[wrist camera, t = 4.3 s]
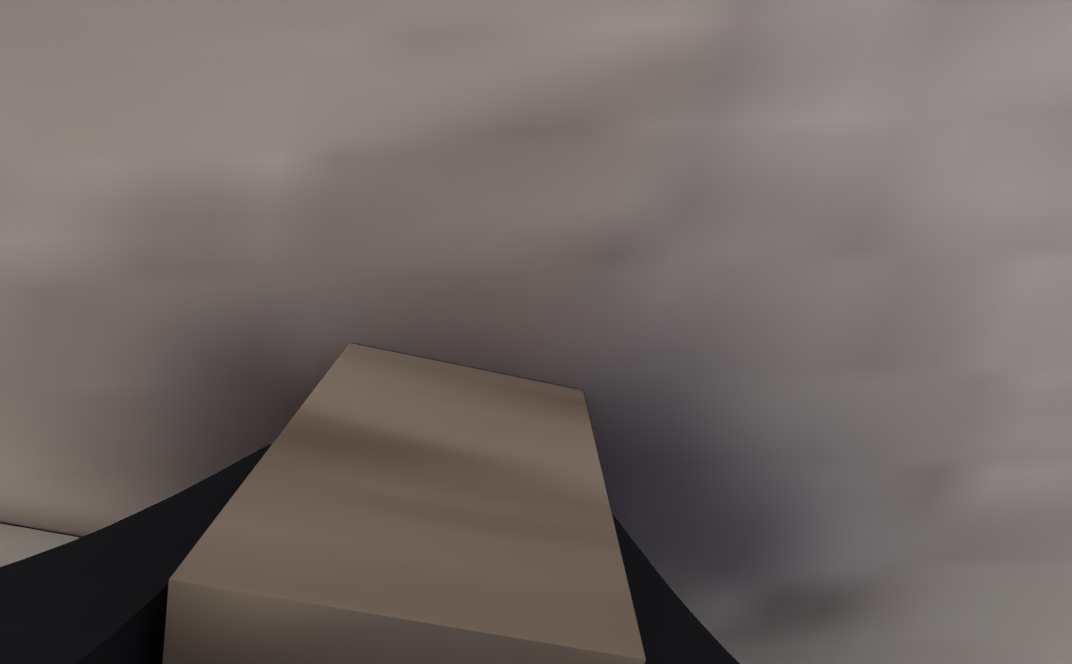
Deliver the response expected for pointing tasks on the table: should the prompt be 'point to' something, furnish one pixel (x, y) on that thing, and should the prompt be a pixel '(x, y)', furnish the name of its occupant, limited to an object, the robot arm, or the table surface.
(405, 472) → the wooden mallet
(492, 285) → the table surface
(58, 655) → the robot arm
